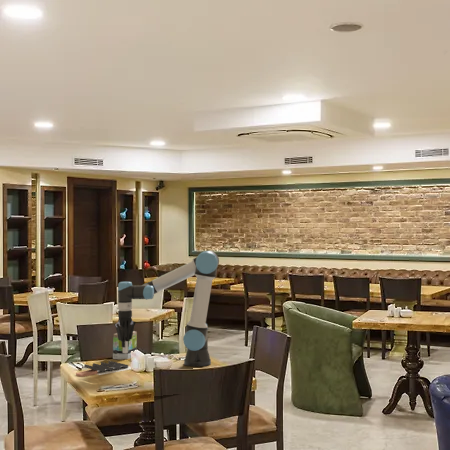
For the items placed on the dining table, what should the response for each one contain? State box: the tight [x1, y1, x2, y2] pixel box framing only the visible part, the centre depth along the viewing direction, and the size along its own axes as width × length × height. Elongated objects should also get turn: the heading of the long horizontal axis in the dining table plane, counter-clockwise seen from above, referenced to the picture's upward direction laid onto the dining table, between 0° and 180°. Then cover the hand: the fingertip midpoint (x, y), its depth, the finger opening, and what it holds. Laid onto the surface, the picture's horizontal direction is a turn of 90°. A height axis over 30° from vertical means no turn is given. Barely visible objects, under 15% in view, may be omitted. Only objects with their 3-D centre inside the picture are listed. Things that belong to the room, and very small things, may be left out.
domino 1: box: [75, 369, 98, 378], centre depth 364 cm, size 5×2×10 cm
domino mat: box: [97, 365, 132, 376], centre depth 375 cm, size 12×24×1 cm, turn 135°
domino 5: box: [108, 360, 129, 368], centre depth 378 cm, size 5×2×10 cm
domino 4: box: [100, 361, 121, 369], centre depth 375 cm, size 5×2×10 cm
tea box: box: [112, 330, 138, 360], centre depth 414 cm, size 15×10×15 cm
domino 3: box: [91, 363, 113, 371], centre depth 371 cm, size 5×2×10 cm
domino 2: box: [83, 364, 105, 372], centre depth 367 cm, size 5×2×10 cm
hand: (125, 352), depth 382 cm, fingers closed
